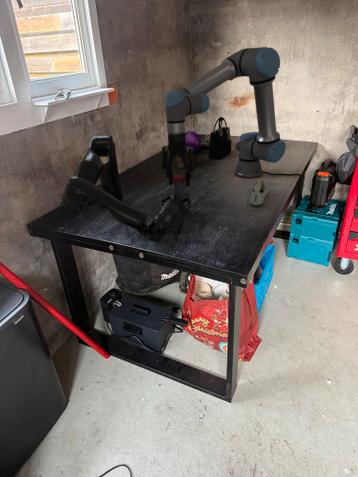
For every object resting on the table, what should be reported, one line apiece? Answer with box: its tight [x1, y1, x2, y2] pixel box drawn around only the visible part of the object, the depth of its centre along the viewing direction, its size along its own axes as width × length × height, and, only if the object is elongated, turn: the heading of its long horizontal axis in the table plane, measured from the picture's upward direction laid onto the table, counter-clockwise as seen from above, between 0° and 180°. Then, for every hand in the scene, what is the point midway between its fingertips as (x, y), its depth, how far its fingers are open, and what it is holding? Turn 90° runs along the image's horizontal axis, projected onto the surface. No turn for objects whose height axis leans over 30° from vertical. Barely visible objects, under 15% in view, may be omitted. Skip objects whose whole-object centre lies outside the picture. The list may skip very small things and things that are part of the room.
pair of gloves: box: [199, 134, 233, 149], centre depth 252 cm, size 30×26×5 cm
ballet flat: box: [249, 179, 269, 207], centre depth 158 cm, size 8×24×8 cm, turn 163°
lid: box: [173, 173, 186, 183], centre depth 145 cm, size 5×5×2 cm
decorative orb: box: [185, 130, 202, 154], centre depth 230 cm, size 15×15×15 cm
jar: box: [173, 181, 187, 213], centre depth 149 cm, size 5×5×15 cm
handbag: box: [207, 116, 232, 160], centre depth 218 cm, size 21×9×25 cm, turn 148°
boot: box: [175, 150, 189, 169], centre depth 209 cm, size 9×24×20 cm, turn 168°
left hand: (181, 195), depth 152 cm, fingers closed on jar, 4 cm apart
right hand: (179, 185), depth 147 cm, fingers open, 7 cm apart
